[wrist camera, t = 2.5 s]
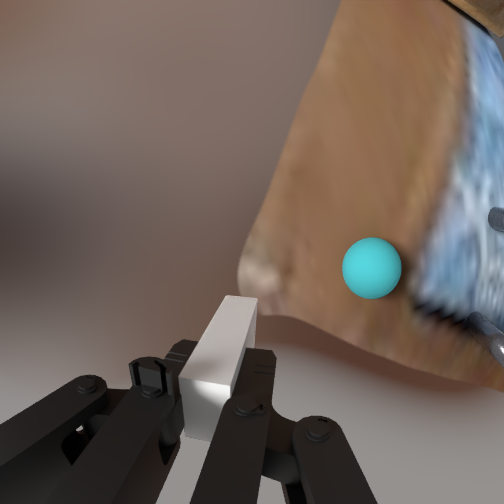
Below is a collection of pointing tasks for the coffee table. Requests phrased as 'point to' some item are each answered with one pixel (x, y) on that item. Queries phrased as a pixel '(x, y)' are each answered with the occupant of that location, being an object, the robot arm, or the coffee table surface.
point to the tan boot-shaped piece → (485, 13)
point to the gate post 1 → (487, 335)
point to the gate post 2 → (496, 218)
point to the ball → (371, 268)
